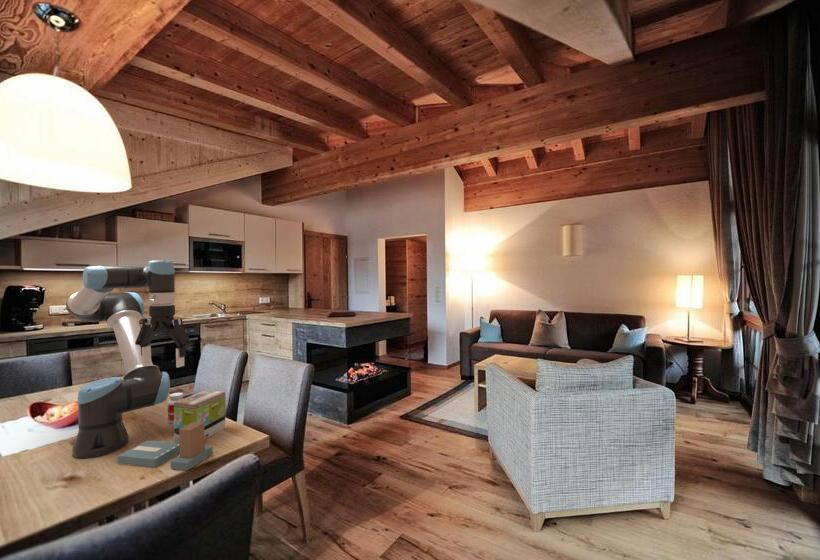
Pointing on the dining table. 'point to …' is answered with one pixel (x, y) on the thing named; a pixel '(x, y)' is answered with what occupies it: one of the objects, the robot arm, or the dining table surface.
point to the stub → (191, 447)
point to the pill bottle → (173, 398)
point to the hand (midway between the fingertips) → (163, 365)
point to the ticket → (149, 454)
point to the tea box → (201, 412)
